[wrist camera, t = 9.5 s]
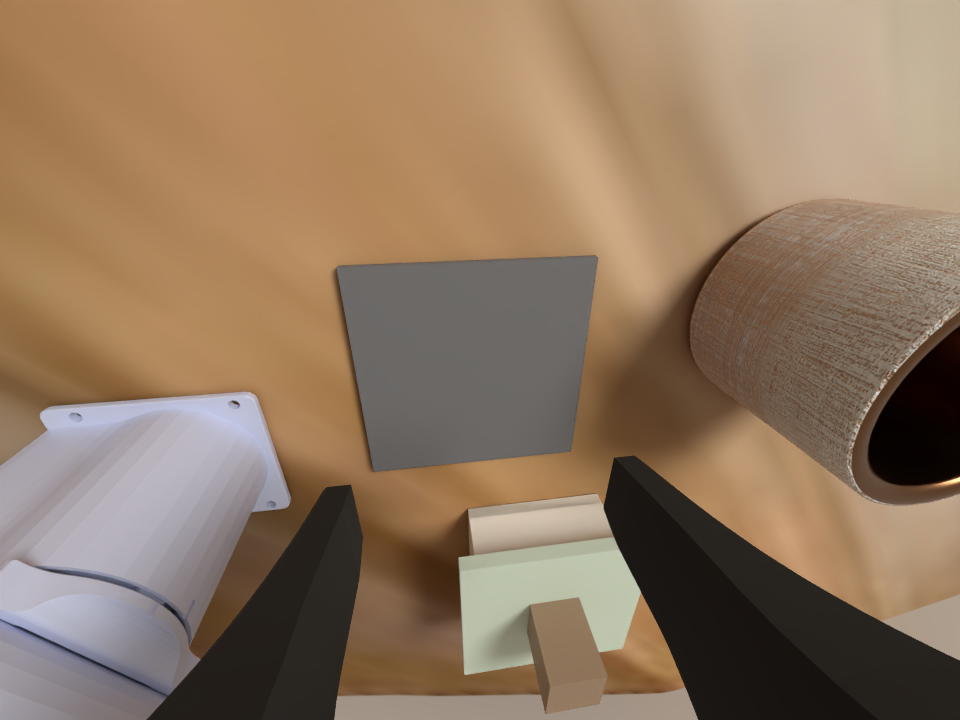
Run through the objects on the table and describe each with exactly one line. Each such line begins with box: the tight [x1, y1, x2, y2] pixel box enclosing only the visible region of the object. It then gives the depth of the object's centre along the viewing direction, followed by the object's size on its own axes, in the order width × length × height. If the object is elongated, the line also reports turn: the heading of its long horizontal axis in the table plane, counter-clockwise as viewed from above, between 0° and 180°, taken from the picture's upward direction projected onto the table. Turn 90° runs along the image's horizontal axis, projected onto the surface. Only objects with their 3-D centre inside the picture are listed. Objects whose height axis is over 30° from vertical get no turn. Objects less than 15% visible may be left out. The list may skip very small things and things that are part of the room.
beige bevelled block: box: [468, 494, 614, 556], centre depth 26 cm, size 9×9×4 cm
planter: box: [689, 199, 960, 506], centre depth 17 cm, size 11×11×10 cm
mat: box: [337, 255, 598, 472], centre depth 21 cm, size 12×12×1 cm
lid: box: [458, 537, 641, 714], centre depth 22 cm, size 11×11×5 cm
